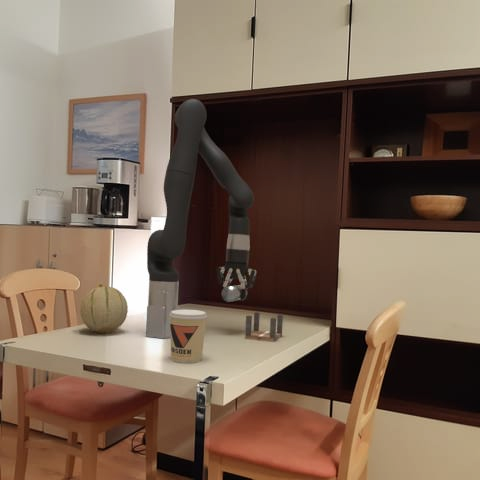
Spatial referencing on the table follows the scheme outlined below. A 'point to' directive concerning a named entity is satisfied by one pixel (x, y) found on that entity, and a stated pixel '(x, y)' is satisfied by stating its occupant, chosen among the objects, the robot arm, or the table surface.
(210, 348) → the table surface
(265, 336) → the cylinder holder stand
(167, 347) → the table surface
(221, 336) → the table surface
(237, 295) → the grey cylinder
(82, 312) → the cantaloupe
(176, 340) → the coffee cup
